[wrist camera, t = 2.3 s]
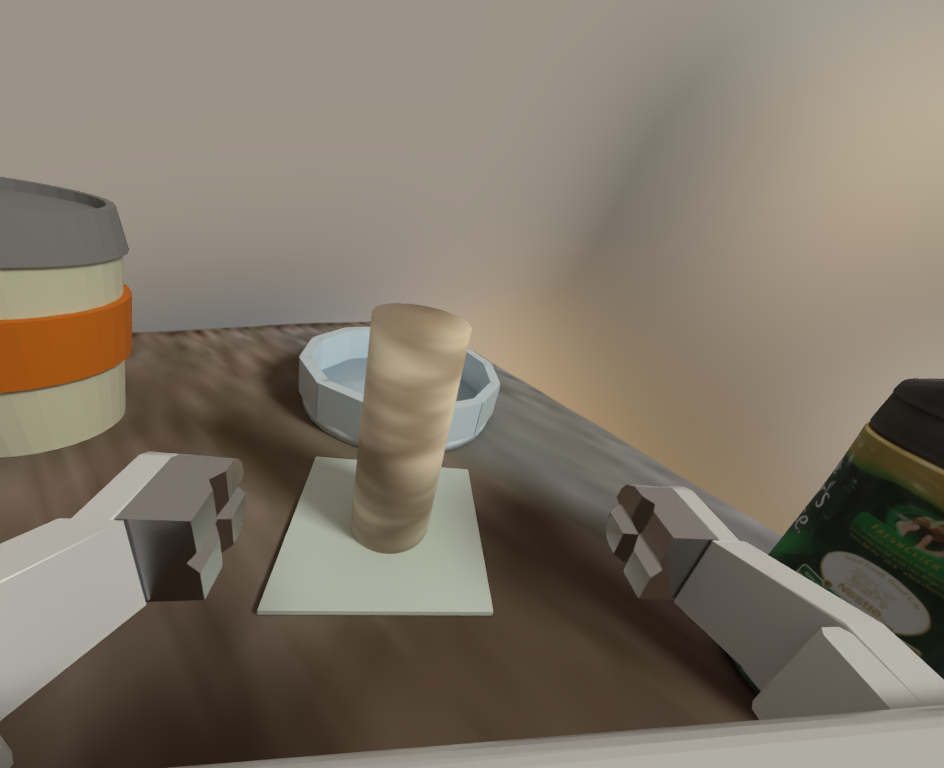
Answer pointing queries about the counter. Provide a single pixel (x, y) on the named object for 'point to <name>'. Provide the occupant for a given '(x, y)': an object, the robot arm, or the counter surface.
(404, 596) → the mat
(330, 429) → the bowl
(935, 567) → the coffee jar
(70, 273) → the reusable coffee cup
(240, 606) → the counter surface
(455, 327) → the pepper mill
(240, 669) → the counter surface
